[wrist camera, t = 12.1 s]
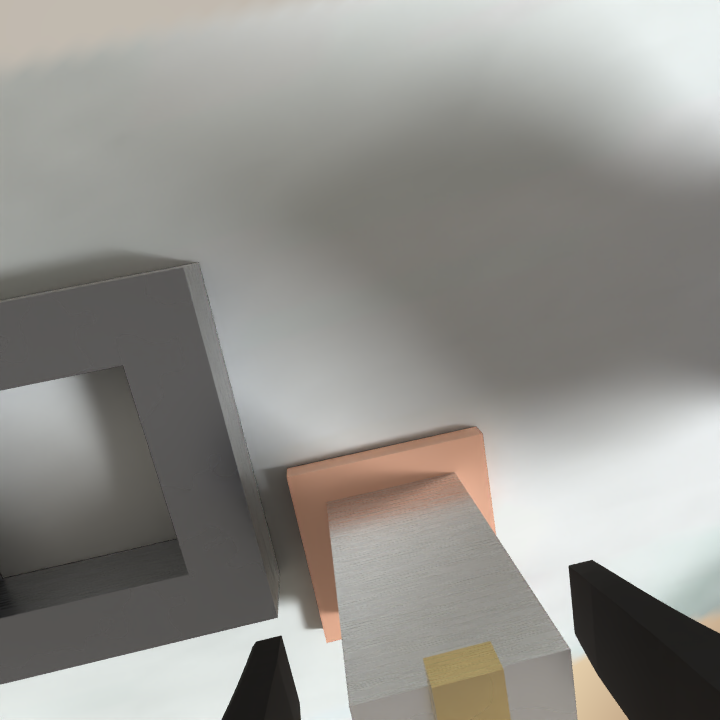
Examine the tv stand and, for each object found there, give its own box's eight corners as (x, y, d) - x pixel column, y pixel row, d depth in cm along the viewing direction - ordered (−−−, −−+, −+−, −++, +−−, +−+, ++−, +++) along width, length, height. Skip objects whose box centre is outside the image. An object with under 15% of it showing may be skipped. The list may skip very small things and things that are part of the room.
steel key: (474, 597, 17) (606, 870, 10) (355, 626, 17) (400, 930, 10) (451, 454, 16) (586, 647, 9) (322, 484, 16) (345, 710, 8)
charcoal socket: (198, 261, 14) (183, 267, 12) (279, 573, 17) (277, 617, 15) (-188, 336, 14) (-268, 354, 12) (-41, 648, 16) (-87, 705, 14)
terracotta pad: (476, 426, 16) (482, 433, 16) (497, 587, 18) (504, 599, 17) (286, 468, 16) (286, 477, 15) (325, 629, 18) (326, 642, 17)
